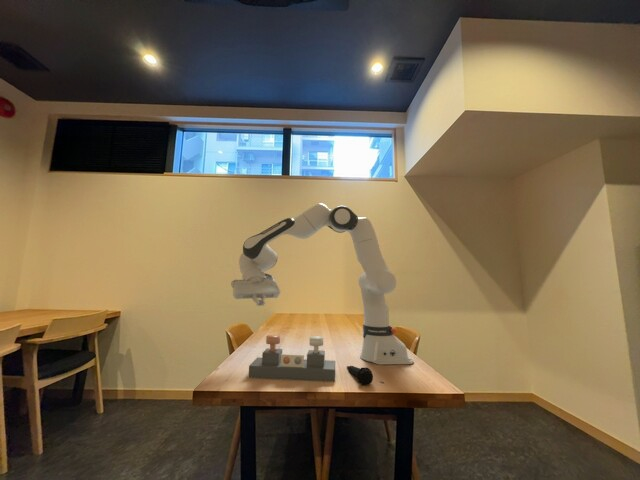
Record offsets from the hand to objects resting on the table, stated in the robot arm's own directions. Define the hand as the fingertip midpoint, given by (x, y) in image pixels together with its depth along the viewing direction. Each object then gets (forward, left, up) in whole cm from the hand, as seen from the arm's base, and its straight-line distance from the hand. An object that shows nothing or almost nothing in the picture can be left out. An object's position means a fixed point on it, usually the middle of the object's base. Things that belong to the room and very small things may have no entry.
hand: (261, 304), depth 114 cm
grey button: (-24, +10, -16) cm, 31 cm away
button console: (-16, +10, -23) cm, 30 cm away
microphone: (-40, +9, -24) cm, 47 cm away
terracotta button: (-8, +10, -16) cm, 21 cm away
